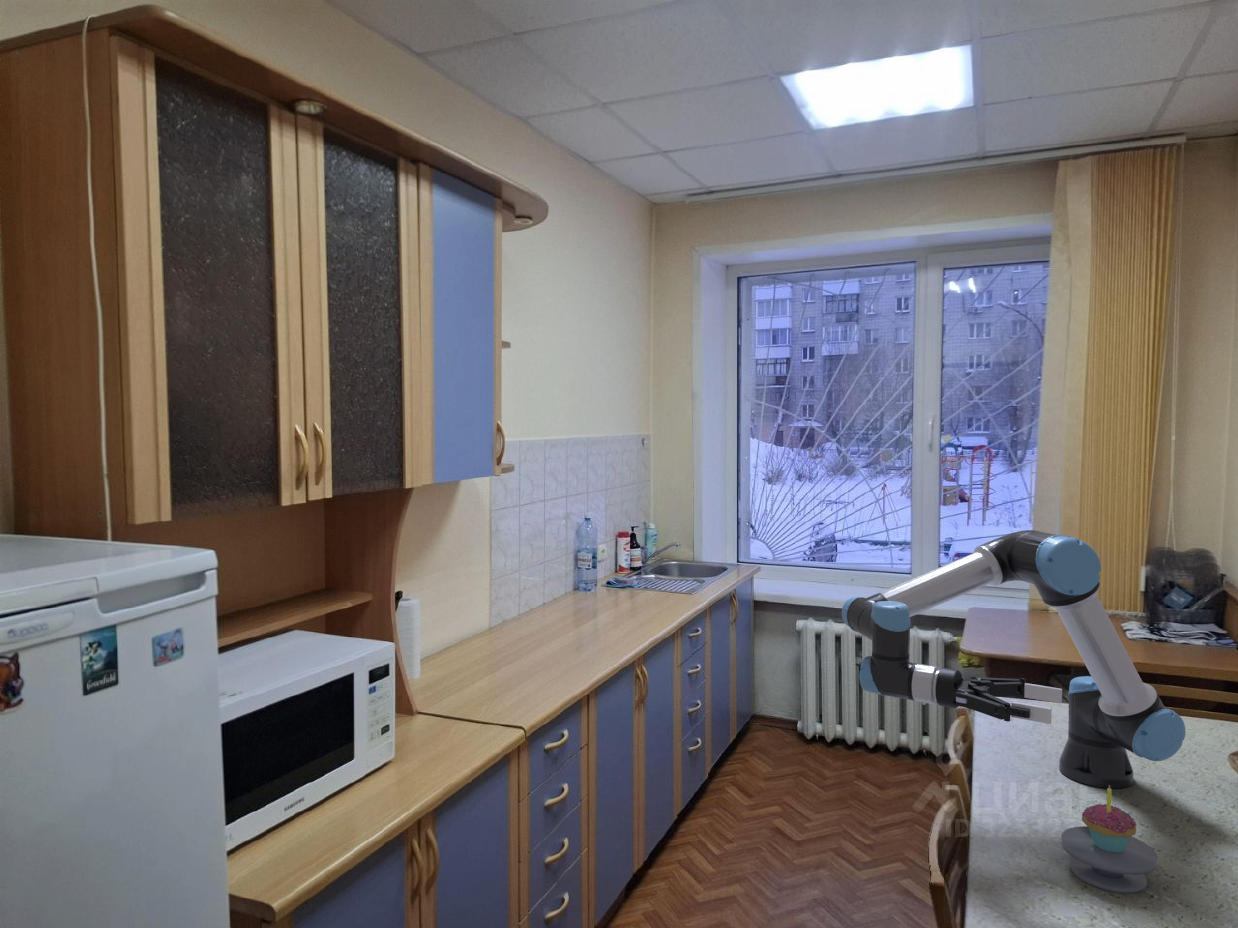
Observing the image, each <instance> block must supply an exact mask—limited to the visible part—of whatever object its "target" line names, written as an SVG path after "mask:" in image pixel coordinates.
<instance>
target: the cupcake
mask: <svg viewBox="0 0 1238 928" xmlns="http://www.w3.org/2000/svg"><path fill="white" fill-rule="evenodd" d="M1106 789H1107V790H1106V793H1107V794H1106V804H1105V803H1104V804H1103V803H1101V804H1100V803H1097V804H1095V805H1094V804H1093V805H1091V806H1088V807H1086V808H1085V809H1084V811H1082V813H1081V821H1082V822H1083V823H1084V825H1085V826H1088V827H1089V830H1090V832H1091V835H1092V838H1093V841H1094V844H1095V845H1096V846H1097V847H1098V848H1100V849H1102V850H1105V851H1108V852H1113V853H1120V852H1123V851H1124V850H1125V847H1126V844H1127V842H1128V840H1129V838H1130V837H1131V836H1132V837H1134V836H1135V835H1136V834H1137V822H1136V821H1135V819H1134V818H1133V817H1132V816H1131V815H1130V814H1129V813H1127V812H1125V811H1124V810H1122V809H1121V808H1119V807H1117V806H1114V805H1112V790H1113V789H1112V788H1110V785H1109V788H1106Z"/></svg>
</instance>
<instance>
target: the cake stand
mask: <svg viewBox="0 0 1238 928" xmlns="http://www.w3.org/2000/svg"><path fill="white" fill-rule="evenodd" d="M1061 846H1062V848H1063V850H1064V851H1065V852H1066V853H1067V854H1068V855H1069V856H1071V857H1072V858H1071V859H1070V861H1069V863H1070V864H1069V869H1070V870H1071V871H1070V872H1072V874H1073V875H1074V876H1075V877H1076V878H1078V879H1079V880H1081V881H1082V882H1084V883H1086V884H1087V885H1089V886H1092V887H1094V888H1096V889H1100V890H1103V891H1106V892H1112V893H1115V894H1116V893H1117V894H1125V895H1126V894H1127V895H1128V894H1129V895H1131V894H1138V893H1141V892H1144V891H1145V890H1146V888H1147V886H1148V879H1147V877H1146V874H1150V873H1152V872H1154V871H1156V870H1157V868H1158V857H1159V856H1158V854H1157V852H1156V851H1155V850H1154V849H1153V848H1152V847H1151V846H1150V845H1149V844H1147V843H1146V842H1143V841H1142V840H1141V839H1139V838H1136V837H1134V836H1131V837H1130V838H1129V840H1128V842H1127V844H1126V847H1125V850H1124V851H1123V852H1120V853H1113V852H1108V851H1105V850H1102V849H1100V848H1098V847H1097V846H1096V845H1095V844H1094V841H1093V838H1092V835H1091V832H1090V830H1089V827H1088V826H1087V825H1083V826H1074V827H1069V828H1067V829H1066V830H1064V831H1063V832H1062V834H1061Z"/></svg>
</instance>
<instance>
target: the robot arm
mask: <svg viewBox="0 0 1238 928" xmlns="http://www.w3.org/2000/svg"><path fill="white" fill-rule="evenodd" d="M1101 571H1102V563H1101V561H1100V558H1099V556H1098V553H1097V551H1095V549H1094V548H1093V547H1092V546H1091V545H1089V544H1088V543H1086V541H1083V540H1081V539H1078V538H1076V537H1073V536H1070V535H1065V534H1064V535H1063V534H1055V533H1048V532H1044V531H1039V530H1034V529H1033V530H1032V529H1026V530H1018V531H1015V532H1011V533H1008V534H1005V535H1002V536H999V537H998V538H995V539H992V540H990V541H987V542H984V543H983V544H980V545H977V546H976V547H975V548H974V550H973V553H970V554H968V555H966V556H964V557H961V558H959V559H957V560H953V561H952V562H951V561H950V562H949V563H947V564H944V565H942V566H940V567H938V568H937V567H936V568H935V569H933V570H930V571H927V572H925V573H923V574H921V575H919V576H916V577H914V578H913V577H912V578H911V579H908V580H907V581H905V582H902V583H899V584H898V585H895V586H892V587H890V588H887V589H885V590H883V591H880V592H878V593H876V594H872V595H870V596H868V597H861V596H853V597H851V598H849V599H847V600H846V601H845V602H844V604H843V606H842V608H841V617H842V621H843V622H844V624H845V625H846V626H847V627H849V629H851V631H853V632H855V633H858V634H860V635H862V636H864V637H865V638H867V639H869V640H871V655H867V656H865V657H864V658H863V659H862V660H861V663H860V667H859V668H860V670H859V677H858V678H859V683H860V686H861V688H862V689H863V691H865V692H869V693H870V694H871V693H872V694H875V695H879V696H883V697H892V698H898V699H902V700H903V699H904V700H909V701H913V702H914V701H915V702H919V703H920V702H921V704H922V705H923V706H925V705H927V704H929V705H930V704H931V705H935V704H938V705H939V706H941V707H946V708H953V709H957V708H959V707H961V708H966V709H969V710H973V711H976V712H978V713H980V714H984V715H987V716H990V717H992V718H995V719H998V720H1002V721H1004V722H1011V718H1015V719H1020V720H1026V721H1032V722H1037V723H1043V724H1047V725H1048V724H1049V725H1052V710H1053V709H1052V707H1047V706H1041V705H1035V704H1034V705H1033V704H1030V703H1022V702H1017V701H1011V703H1010V702H1008V701H1005V700H1004V699H1001V698H999V697H1012V696H1013V697H1014V696H1015V697H1016V696H1022V697H1023V696H1024V698H1025V699H1031V700H1038V701H1043V702H1051V703H1055V704H1062V702H1063V689H1062V688H1057V687H1052V686H1047V685H1046V686H1045V685H1042V684H1041V685H1040V684H1034V683H1033V684H1032V683H1028V682H1026V678H1023V677H1020V678H1005V677H1004V678H1003V677H1001V678H1000V677H982V676H981V677H980V676H975V675H973V676H970V680H964V679H963V675H962V672H961V671H960V670H959V669H955V668H954V669H953V668H948V667H941V668H940V667H939V666H937V665H929V664H922V663H915V662H910V661H911V660H910V643H911V642H910V640H911V624H912V623H911V617H913V616H916V615H917V614H920V613H923V612H925V611H928V610H930V609H932V608H935V607H938V606H940V605H942V604H944V603H947V602H949V601H952V600H954V599H956V598H958V597H961V596H963V595H966V594H969V593H970V592H973V591H975V590H977V589H980V588H982V587H985V586H986V585H987V586H988V585H989V584H990V585H991V586H992V585H993V586H999V585H1002V584H1005V583H1006V582H1008V583H1009V582H1014V581H1015V582H1016V581H1020V582H1021V581H1022V582H1026V583H1029V584H1032V585H1034V588H1036V590H1037V592H1038V594H1039V595H1040V598H1041V599H1042V601H1043V603H1044V605H1046V606H1048V607H1051V608H1054V609H1055V610H1056V612H1057V614H1058V615H1059V618H1060V620H1061V621H1062V623H1063V625H1064V627H1065V629H1066V631H1067V633H1068V636H1069V637H1070V638H1071V640H1072V642H1073V645H1074V646H1075V647H1076V650H1077V652H1078V653H1079V655H1080V657H1081V659H1082V662H1083V663H1084V665H1085V667H1086V669H1087V670H1088V672H1089V675H1090V676H1089V675H1086V676H1085V675H1084V676H1077V677H1074V678H1072V679H1071V680H1070V682H1069V689H1068V693H1067V695H1068V731H1067V732H1068V734H1067V740H1066V742H1065V745H1064V747H1063V750H1062V752H1061V753H1060V757H1059V761H1058V762H1059V763H1058V764H1059V765H1058V769H1059V772H1060V773H1061V774H1062V775H1064V776H1065V777H1067V778H1069V779H1071V780H1074V781H1076V782H1078V783H1081V784H1084V785H1088V786H1092V787H1097V788H1098V787H1099V788H1106V789H1108V788H1109V785H1110V789H1124V788H1129V787H1131V786H1132V785H1133V783H1134V770H1133V767H1132V764H1131V760H1130V757H1129V755H1128V752H1131V753H1133V754H1134V755H1135V756H1136V757H1139V758H1144V759H1146V760H1148V761H1152V762H1162V761H1166V760H1168V759H1170V758H1172V757H1173V756H1174V755H1176V754H1177V752H1178V751H1179V750H1180V749H1181V748H1182V746H1183V742H1184V740H1185V738H1186V725H1185V722H1184V720H1183V718H1182V716H1180V715H1179V714H1178V713H1176V711H1174V710H1172V709H1170V708H1166V707H1165V705H1164V704H1163V702H1162V700H1161V698H1160V696H1159V694H1158V693H1157V691H1156V689H1155V687H1154V686H1152V685H1151V684H1148V683H1146V682H1143V680H1142V678H1141V677H1140V674H1139V673H1138V670H1137V669H1136V667H1135V665H1134V662H1133V661H1132V659H1131V657H1130V656H1129V654H1128V651H1127V650H1126V648H1125V646H1124V644H1123V642H1122V640H1121V638H1120V636H1119V634H1118V633H1117V630H1116V628H1115V626H1114V624H1113V622H1112V621H1111V619H1110V617H1109V615H1108V613H1107V611H1106V609H1105V607H1104V606H1103V604H1102V601H1101V599H1100V598H1099V596H1098V592H1099V590H1100V588H1101V583H1100V580H1101V575H1100V572H1101ZM1127 751H1128V752H1127Z"/></svg>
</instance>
